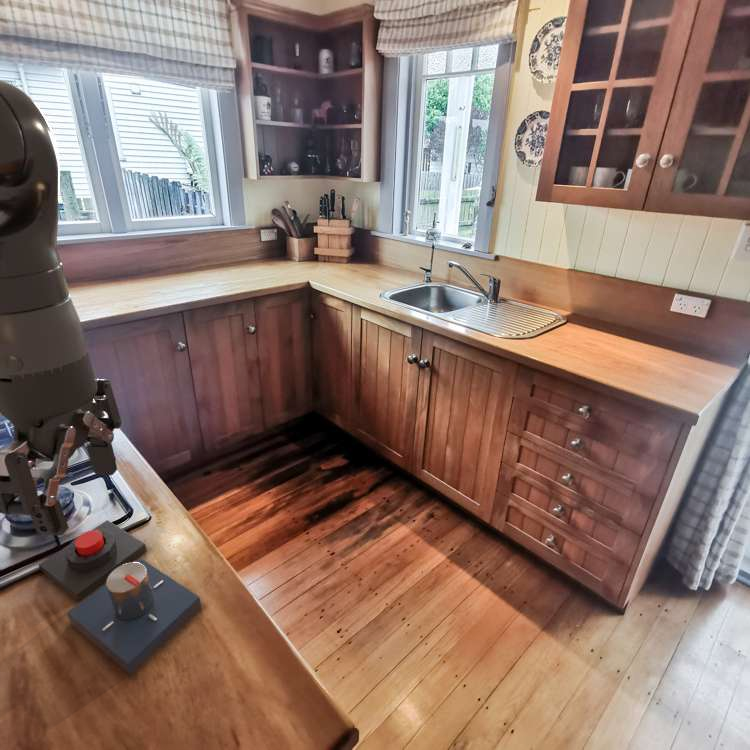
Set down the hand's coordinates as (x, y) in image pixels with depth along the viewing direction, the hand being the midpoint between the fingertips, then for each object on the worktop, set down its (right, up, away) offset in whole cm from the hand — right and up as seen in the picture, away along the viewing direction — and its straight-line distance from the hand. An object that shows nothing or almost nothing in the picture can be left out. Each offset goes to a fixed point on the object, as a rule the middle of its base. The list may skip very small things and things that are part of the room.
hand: (82, 500), depth 46 cm
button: (-15, -14, +25) cm, 32 cm away
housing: (-15, -17, +27) cm, 35 cm away
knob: (-4, -19, +17) cm, 26 cm away
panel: (-4, -22, +19) cm, 29 cm away
